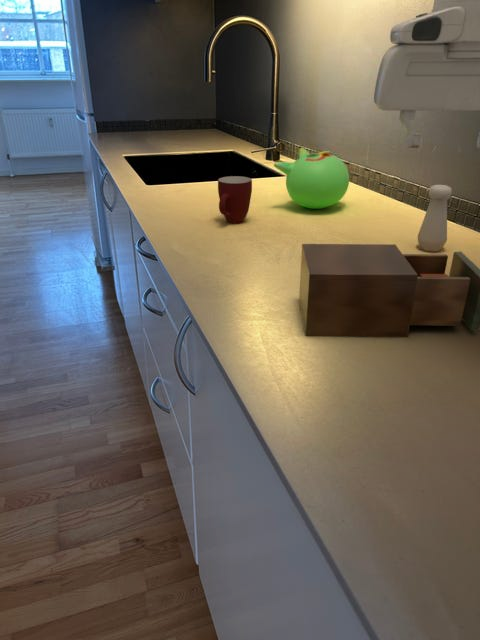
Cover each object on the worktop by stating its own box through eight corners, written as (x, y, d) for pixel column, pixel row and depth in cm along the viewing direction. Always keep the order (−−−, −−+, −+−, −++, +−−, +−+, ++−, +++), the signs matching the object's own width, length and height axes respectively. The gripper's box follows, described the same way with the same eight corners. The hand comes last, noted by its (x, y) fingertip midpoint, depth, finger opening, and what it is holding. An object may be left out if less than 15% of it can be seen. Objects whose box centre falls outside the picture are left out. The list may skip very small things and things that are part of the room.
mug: (240, 230, 118) (240, 187, 114) (209, 226, 121) (207, 184, 116) (256, 218, 127) (256, 177, 122) (226, 215, 130) (225, 175, 125)
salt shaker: (445, 254, 104) (457, 190, 98) (415, 251, 105) (425, 188, 99) (444, 245, 108) (456, 183, 103) (416, 242, 110) (426, 181, 104)
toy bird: (331, 219, 126) (336, 157, 119) (270, 210, 134) (271, 152, 127) (355, 203, 140) (360, 147, 133) (298, 195, 147) (301, 142, 141)
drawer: (482, 297, 83) (493, 251, 80) (514, 330, 73) (527, 280, 69) (368, 296, 84) (374, 250, 80) (384, 329, 73) (391, 279, 70)
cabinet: (387, 299, 84) (395, 244, 80) (407, 337, 73) (418, 274, 69) (299, 299, 85) (302, 243, 80) (305, 335, 74) (309, 273, 69)
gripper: (544, 27, 63) (516, 144, 70) (378, 28, 64) (366, 143, 70) (572, 24, 58) (539, 151, 64) (390, 25, 58) (375, 151, 65)
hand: (447, 147), depth 67 cm, fingers open, 8 cm apart
